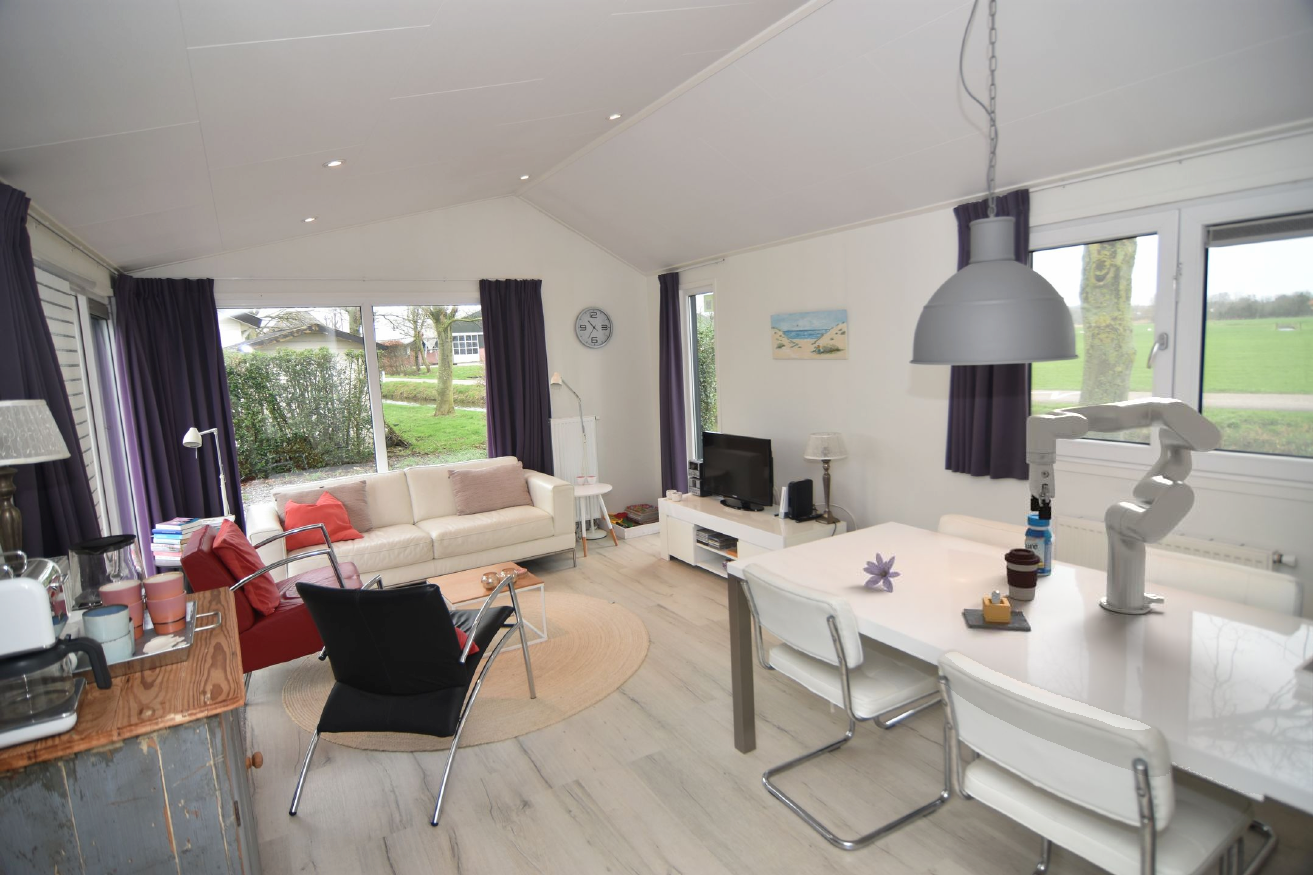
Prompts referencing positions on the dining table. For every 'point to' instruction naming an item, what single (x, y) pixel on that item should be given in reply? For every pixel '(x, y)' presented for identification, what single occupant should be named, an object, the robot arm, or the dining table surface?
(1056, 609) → the dining table surface
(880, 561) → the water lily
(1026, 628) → the keeper
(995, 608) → the orange hollow square block
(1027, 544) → the beverage bottle
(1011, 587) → the coffee cup
